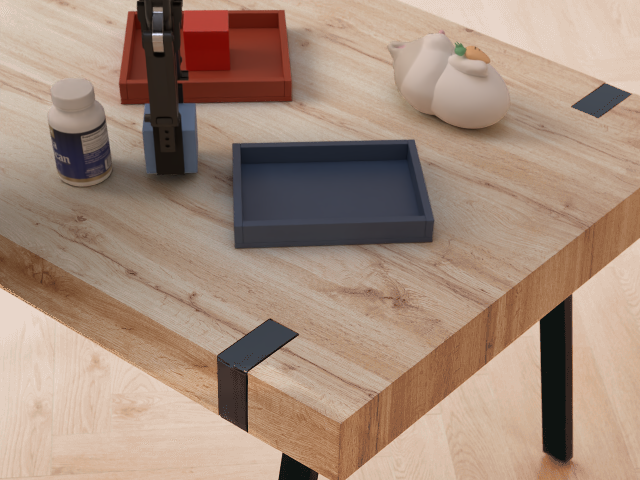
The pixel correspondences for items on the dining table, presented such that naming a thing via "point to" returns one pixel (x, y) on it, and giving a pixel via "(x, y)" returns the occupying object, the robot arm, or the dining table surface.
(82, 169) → the pill bottle
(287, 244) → the blue tray
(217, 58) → the red cube
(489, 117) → the animal figurine with carrot
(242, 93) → the red tray
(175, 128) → the robot arm
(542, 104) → the dining table surface
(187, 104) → the blue cube
